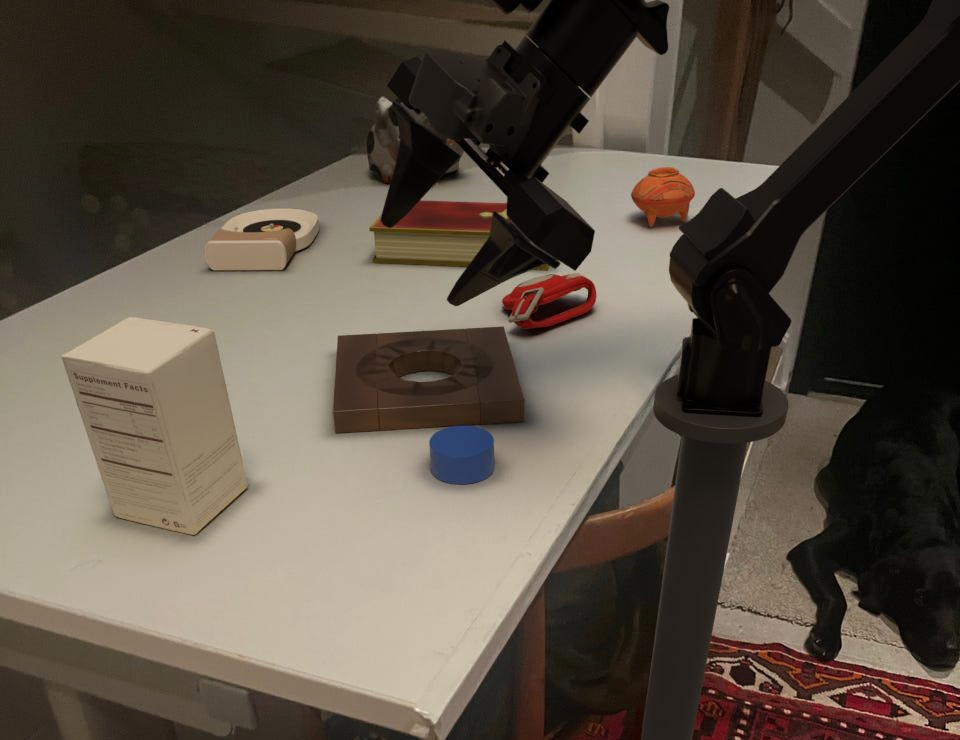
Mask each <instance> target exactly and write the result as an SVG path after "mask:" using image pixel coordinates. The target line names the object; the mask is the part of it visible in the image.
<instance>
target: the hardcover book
mask: <svg viewBox="0 0 960 740" xmlns="http://www.w3.org/2000/svg"><path fill="white" fill-rule="evenodd" d="M494 211H495V212H497V213H498V214H500V215H501V216H503V217H504V218H506V219H508V220H509V221H512V220H511V219H510V218H509V217H508V216H507V215H506V211H507V202H486V201H485V202H481V201H477V202H476V201H450V200H449V201H448V200H422V199H421V200H420V201H419V202H418V203H417V204H416V205H415V206H414V207H413V208H412V209H411V211H410V212H409V213H408V214H407V215H406V216H405V217H404V218H402V219H401V220H400V221H399V222H398V223H397V224H396V225H395V226H393V227H392V228H388V227H386V226H384V225H383V224H382V223H381V221H380V219H381V215H382V213H381V214H380V215H379V216H378V218H376V219H375V220H374V222H373V223H372V224H371V225H370V226H369V232H373V236H374V248H375V255H374V256H373V258H372V259H371V261H372V263H376V264H400V265H421V266H422V265H423V266H441V267H442V266H443V267H444V266H445V267H464V268H465V267H466V268H467V267H468V265H469V264H470V263H471V261H472V260H473V259H474V257H475V256H476V254H477V253H478V252H479V250H480V249H481V248H482V246H483V245H484V244H485V242H486V241H487V239H488V238H489V235H490V228H491V221H492V214H493V212H494ZM549 268H550V266H549V265H547V264H545V265H543V266H540V267H538V268H535V269H534V271H535V270H538V271H548V270H549Z"/></svg>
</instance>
